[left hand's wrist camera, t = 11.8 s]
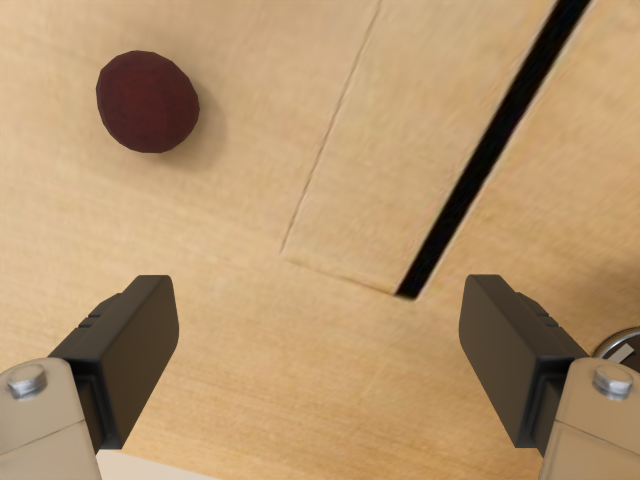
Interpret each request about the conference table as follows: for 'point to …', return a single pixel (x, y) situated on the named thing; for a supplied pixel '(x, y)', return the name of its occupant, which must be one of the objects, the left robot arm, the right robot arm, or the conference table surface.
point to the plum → (146, 102)
